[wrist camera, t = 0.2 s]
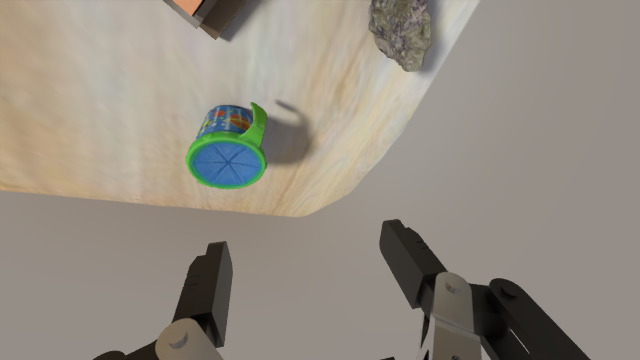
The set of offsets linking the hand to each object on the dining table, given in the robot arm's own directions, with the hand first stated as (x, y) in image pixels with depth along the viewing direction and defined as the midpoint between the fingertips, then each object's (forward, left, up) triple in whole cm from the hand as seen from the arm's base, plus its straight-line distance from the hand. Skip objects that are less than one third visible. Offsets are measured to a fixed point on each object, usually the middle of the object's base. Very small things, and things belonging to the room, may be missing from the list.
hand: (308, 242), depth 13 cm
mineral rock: (+9, +15, -31) cm, 35 cm away
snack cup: (+5, -15, -31) cm, 35 cm away
